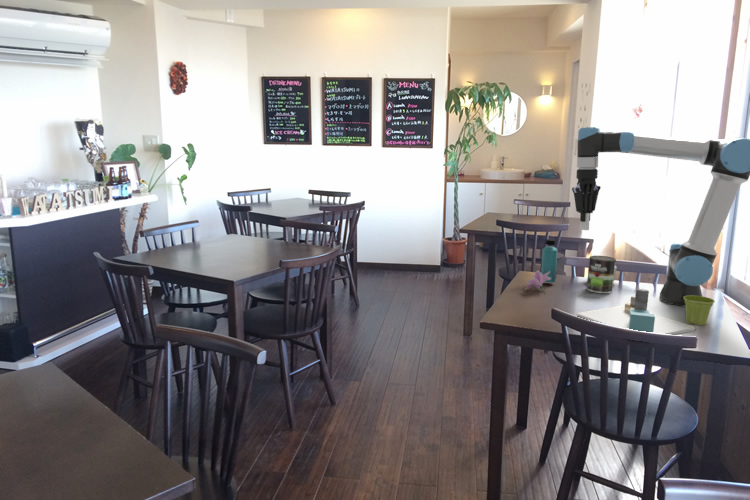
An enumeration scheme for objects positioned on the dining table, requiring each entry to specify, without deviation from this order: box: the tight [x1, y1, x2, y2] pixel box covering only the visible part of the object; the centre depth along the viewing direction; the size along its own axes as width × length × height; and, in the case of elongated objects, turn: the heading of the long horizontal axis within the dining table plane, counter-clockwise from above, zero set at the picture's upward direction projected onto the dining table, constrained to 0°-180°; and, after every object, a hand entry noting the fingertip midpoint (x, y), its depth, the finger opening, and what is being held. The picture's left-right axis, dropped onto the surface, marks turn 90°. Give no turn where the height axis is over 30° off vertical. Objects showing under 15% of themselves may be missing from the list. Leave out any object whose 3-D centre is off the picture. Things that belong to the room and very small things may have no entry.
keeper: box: [629, 309, 655, 332], centre depth 184 cm, size 10×7×6 cm, turn 161°
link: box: [624, 288, 650, 312], centre depth 193 cm, size 21×6×10 cm, turn 167°
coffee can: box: [586, 255, 617, 294], centre depth 232 cm, size 10×10×14 cm
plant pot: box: [683, 295, 716, 326], centre depth 191 cm, size 9×9×9 cm
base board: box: [575, 304, 696, 335], centre depth 191 cm, size 25×28×1 cm
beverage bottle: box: [540, 238, 559, 283], centre depth 241 cm, size 6×7×20 cm
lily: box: [524, 270, 551, 295], centre depth 229 cm, size 12×12×10 cm
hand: (584, 229), depth 214 cm, fingers closed
